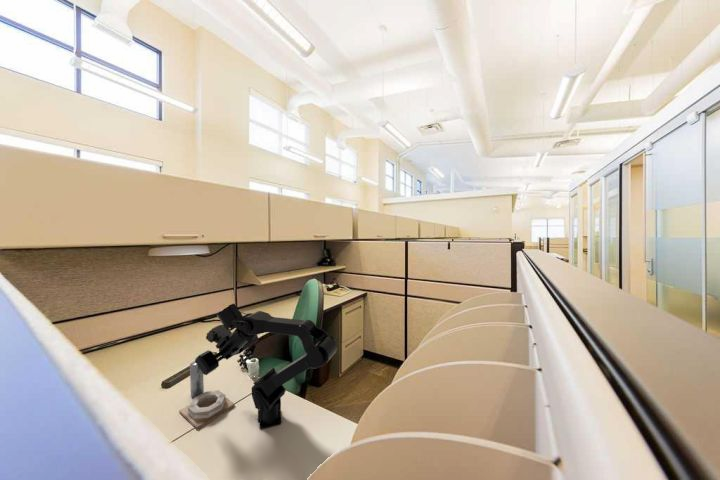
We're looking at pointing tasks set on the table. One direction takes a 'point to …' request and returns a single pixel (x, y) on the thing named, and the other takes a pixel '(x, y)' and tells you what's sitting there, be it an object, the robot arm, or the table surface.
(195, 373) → the metal pin
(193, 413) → the bore block
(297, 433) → the table surface
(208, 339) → the robot arm
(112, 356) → the table surface
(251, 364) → the valve
